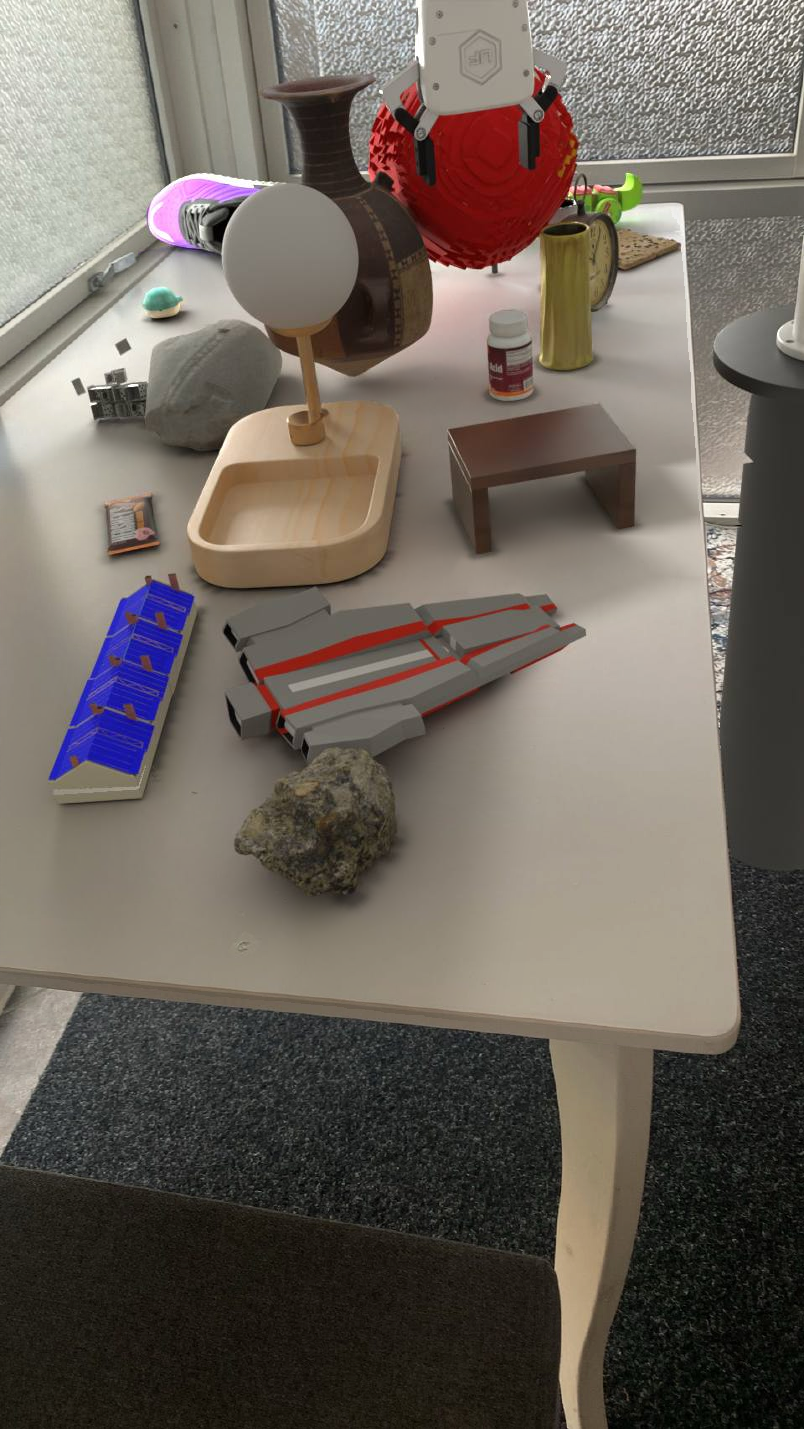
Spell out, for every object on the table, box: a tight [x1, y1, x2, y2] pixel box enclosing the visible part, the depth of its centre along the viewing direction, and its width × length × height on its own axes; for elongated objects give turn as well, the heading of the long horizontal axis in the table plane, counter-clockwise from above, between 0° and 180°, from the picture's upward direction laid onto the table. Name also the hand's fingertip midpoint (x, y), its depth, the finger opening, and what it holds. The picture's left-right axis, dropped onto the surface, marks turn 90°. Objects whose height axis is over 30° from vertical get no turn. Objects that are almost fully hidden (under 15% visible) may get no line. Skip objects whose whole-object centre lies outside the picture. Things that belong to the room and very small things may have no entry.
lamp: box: [186, 182, 403, 589], centre depth 99 cm, size 33×17×25 cm, turn 176°
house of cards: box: [70, 337, 148, 422], centre depth 127 cm, size 9×9×8 cm
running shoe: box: [145, 172, 286, 256], centre depth 172 cm, size 11×29×15 cm
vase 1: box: [257, 73, 434, 378], centre depth 121 cm, size 23×19×30 cm
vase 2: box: [538, 222, 595, 371], centre depth 122 cm, size 6×6×14 cm
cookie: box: [616, 228, 682, 271], centre depth 155 cm, size 12×12×1 cm
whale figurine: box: [141, 286, 185, 319], centre depth 154 cm, size 6×7×4 cm
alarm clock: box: [560, 173, 619, 313], centre depth 132 cm, size 11×5×16 cm, turn 146°
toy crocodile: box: [565, 172, 643, 226], centre depth 164 cm, size 20×7×6 cm, turn 98°
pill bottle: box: [486, 309, 534, 402], centre depth 119 cm, size 5×5×8 cm
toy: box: [367, 61, 580, 271], centre depth 128 cm, size 23×24×30 cm
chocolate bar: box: [103, 492, 160, 556], centre depth 106 cm, size 11×5×1 cm, turn 14°
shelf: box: [446, 403, 637, 555], centre depth 98 cm, size 14×10×7 cm
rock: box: [233, 747, 398, 897], centre depth 67 cm, size 6×9×10 cm
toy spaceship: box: [221, 585, 587, 767], centre depth 81 cm, size 19×27×5 cm
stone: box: [144, 318, 283, 452], centre depth 125 cm, size 26×7×15 cm
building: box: [47, 572, 198, 805], centre depth 83 cm, size 23×6×4 cm, turn 179°
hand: (478, 175), depth 106 cm, fingers open, 9 cm apart
